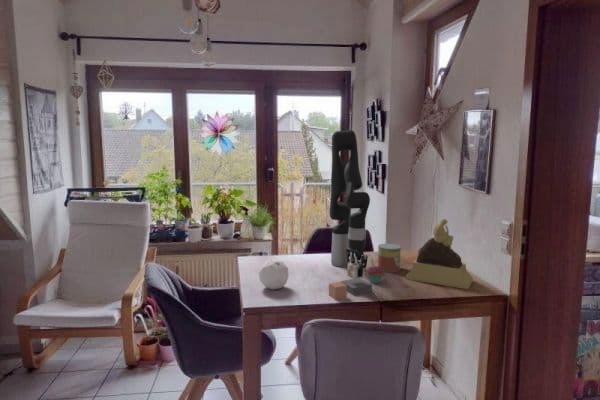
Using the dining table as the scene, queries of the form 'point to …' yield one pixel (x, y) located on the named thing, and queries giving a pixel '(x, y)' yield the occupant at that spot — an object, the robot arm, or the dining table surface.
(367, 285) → the plinth
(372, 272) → the cupcake
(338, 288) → the terracotta cube
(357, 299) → the dining table surface
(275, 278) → the geodesic sphere
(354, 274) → the cream cube
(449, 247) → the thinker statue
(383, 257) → the canned food
